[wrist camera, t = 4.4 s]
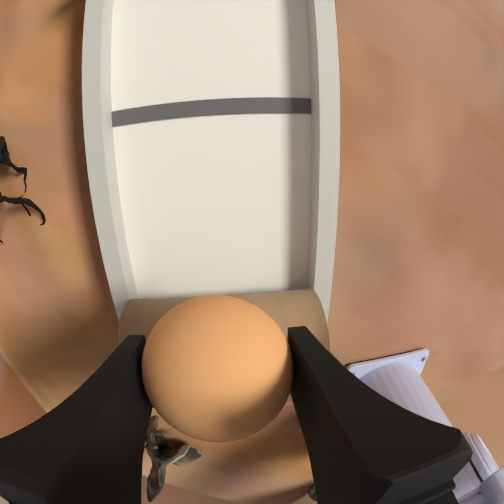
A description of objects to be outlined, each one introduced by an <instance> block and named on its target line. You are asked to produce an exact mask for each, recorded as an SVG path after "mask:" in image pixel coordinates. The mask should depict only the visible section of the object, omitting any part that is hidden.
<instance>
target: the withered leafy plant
mask: <svg viewBox="0 0 504 504" xmlns="http://www.w3.org/2000/svg"><path fill="white" fill-rule="evenodd" d="M157 420H158V416H155V417H154V419H153V421H152V422H151V423H149V426H148V431H147V436H146V440H145V445H144V448H146V449H147V453H148V455H149V456H150V458H151V460H152V468H151V470H150V474H149V476H148V479H147V498H148V501H149V502H152V501H153V500H154V499H155V498H156V497H157V495H158V494H159V493H160V491H161V490H162V487H163V484H164V482H165V474H166V472H165V471H166V467H167V466H168V465H170V464H171V463H172V464H175V465H186V464H188V463H191V462H193V461H195V460H196V459H198V458H199V457H201V455H200V454H198V453H197V449H195V448H192V447H190V445H189V444H186V445H184V446H182V447H180V448H179V449H177V450H175V449H174V448H173V447H171V446H170V445H169V444H168V443H167V441H166V439H165V438H164V437H163V436H162V434H164V432H163V431H156V427H157V426H158V422H157ZM155 439H156V440H157V442H155ZM189 447H190V448H189Z"/></svg>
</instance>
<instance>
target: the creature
mask: <svg viewBox="0 0 504 504" xmlns="http://www.w3.org/2000/svg"><path fill="white" fill-rule="evenodd" d="M9 154H10V153H9V152H8V150H7V145H6V142H5V138H4V137H3V136H0V164H4V165H8V166H10V167H12V168H13V169H14V170H16V171H17V172H24V182H25V180H26V176H27V168H25V167H21V168H18V167H16V166H15V165H14V164H13V163H12V162H11V161H10V158H9ZM25 186H26V182H25ZM26 188H27V186H26ZM25 192H26V189H25ZM25 192H24V193H25ZM23 195H24V194H23ZM23 195H22V196H23ZM22 196H21V197H18V198H8V197H6V196H1V192H0V203H1V202H4V201H6V202H8V203H13V204H22V205H23V206H24V204H26V205H28V206H30V207H32V208H34V209H35V210H37V211H38V212H39V213H40V214H41V216H42V218H43V223H42V224H40V225H43V224H44V223H45V216H44V214H43V212H42V211H41V209H40V208H39V207H37V206H36V205H35V204H34V203H33V202H32V201H31V200H30V199H25V198H22ZM24 208H25V209H26V207H25V206H24ZM26 211H27V212H28V214H29V215H30V216H31V214H30V213H29V211H28V210H27V209H26ZM0 242H1V243H3V242H2V241H1V240H0Z"/></svg>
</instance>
